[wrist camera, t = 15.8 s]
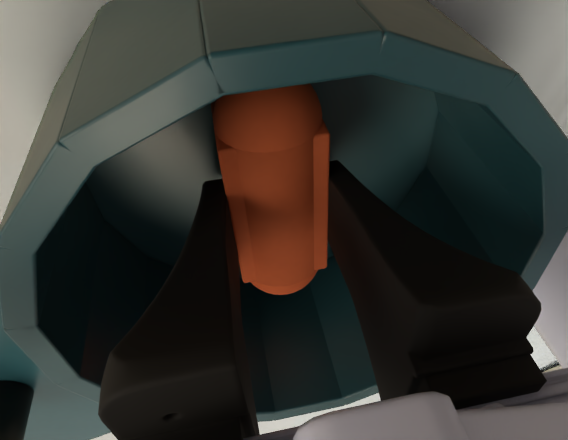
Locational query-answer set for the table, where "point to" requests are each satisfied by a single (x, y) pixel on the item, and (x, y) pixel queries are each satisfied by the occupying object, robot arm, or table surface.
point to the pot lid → (40, 402)
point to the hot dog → (275, 183)
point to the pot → (205, 166)
